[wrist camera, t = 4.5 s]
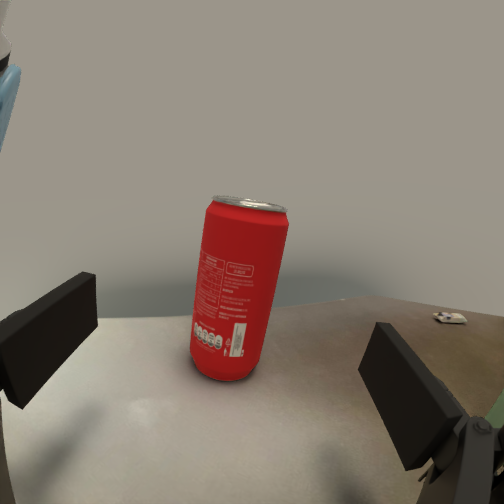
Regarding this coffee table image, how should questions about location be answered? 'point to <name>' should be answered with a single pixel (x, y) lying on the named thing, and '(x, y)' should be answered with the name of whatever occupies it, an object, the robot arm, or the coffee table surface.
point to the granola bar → (450, 317)
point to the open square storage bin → (497, 413)
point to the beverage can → (236, 284)
